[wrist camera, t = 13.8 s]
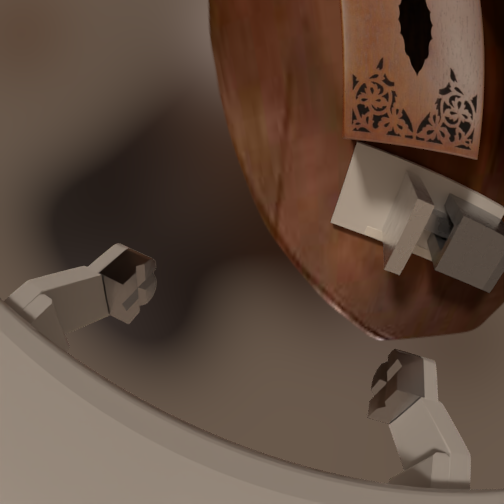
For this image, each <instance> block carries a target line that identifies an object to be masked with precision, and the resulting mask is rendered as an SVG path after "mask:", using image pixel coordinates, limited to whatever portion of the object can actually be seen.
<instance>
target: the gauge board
mask: <svg viewBox="0 0 504 504" xmlns="http://www.w3.org/2000/svg"><path fill="white" fill-rule="evenodd" d="M406 170H407V171H409V172H411V173H414V174H416V175H418V176H420V177H421V179H422V181H423V183H424V185H425V187H426V189H427V191H428V193H429V195H430V197H431V199H432V201H433V203H434V205H435V207H434V209H437V210H439V211H441V212H443V213H445V214H447V215H448V213H447V211H446V209H445V207H444V205H445V202H446V200H447V198H448V196H449V193H451V194H453V195H455V196H457V197H459V198H461V199H463V200H465V201H467V202H469V203H471V204H473V205H475V206H477V207H479V208H481V209H483V210H485V211H487V212H489V213H491V214H493V215H494V216H496V217H498V218H500V219H502V217H503V215H504V207H503V206H502V205H500V204H498V203H496V202H495V201H493V200H491V199H489V198H487V197H485V196H484V195H482V194H480V193H478V192H476V191H474V190H472V189H470V188H468V187H466V186H464V185H462V184H460V183H458V182H456V181H454V180H452V179H450V178H448V177H446V176H444V175H441V174H439V173H437V172H435V171H433V170H430V169H428V168H426V167H424V166H421V165H419V164H417V163H414V162H412V161H410V160H407V159H405V158H402V157H400V156H397V155H395V154H392V153H390V152H387V151H385V150H382V149H379V148H377V147H374V146H371V145H368V144H366V143H363V142H360V141H357V143H356V146H355V150H354V153H353V156H352V159H351V162H350V165H349V169H348V172H347V175H346V178H345V181H344V184H343V187H342V190H341V193H340V196H339V199H338V202H337V205H336V208H335V211H334V213H333V216H332V219H331V223H333V224H336V225H339V226H342V227H344V228H347V229H350V230H353V231H355V232H358V233H361V234H364V235H366V236H369V237H372V238H374V239H377V240H380V241H382V242H383V235H382V228H383V226H384V223H385V221H386V219H387V217H388V214H389V212H390V210H391V207H392V205H393V202H394V200H395V198H396V195H397V193H398V190H399V188H400V185H401V183H402V180H403V178H404V175H405V172H406ZM430 234H431V232H430V231H428V230H425V229H424V230H423V232H422V234H421V236H420V238H419V240H418V242H417V244H416V246H415V248H414V249H413V251H412V253H413V254H416V255H418V256H421V257H423V258H425V259H428V260H430V261H432V258H431V254H430V251H429V247H428V244H427V240H428V238H429V236H430Z"/></svg>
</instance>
